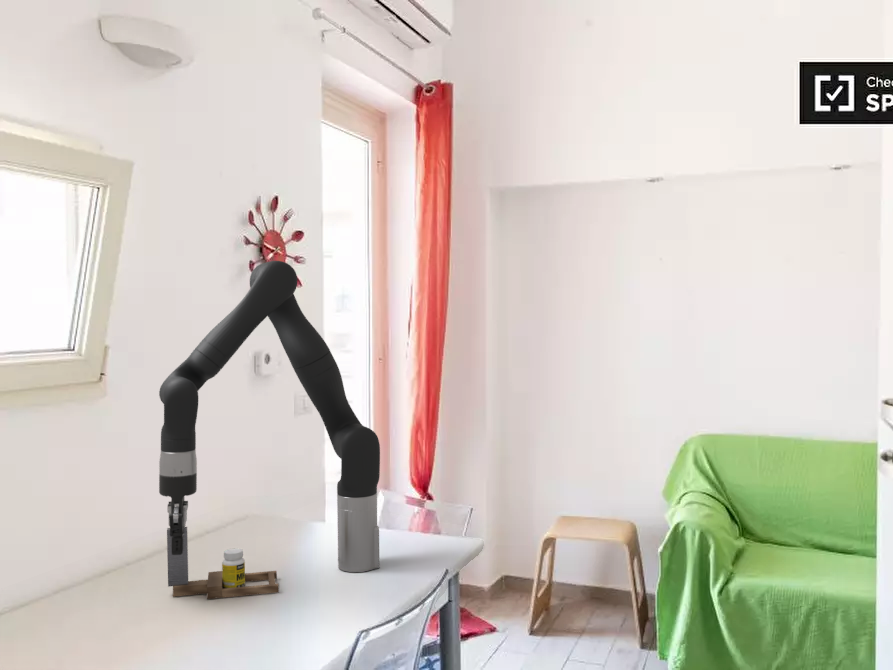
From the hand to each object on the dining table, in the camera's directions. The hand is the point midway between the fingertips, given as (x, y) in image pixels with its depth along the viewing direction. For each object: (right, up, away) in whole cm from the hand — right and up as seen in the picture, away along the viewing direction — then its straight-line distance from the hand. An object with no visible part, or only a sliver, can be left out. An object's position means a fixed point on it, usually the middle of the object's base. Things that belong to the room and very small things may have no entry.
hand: (177, 552), depth 172 cm
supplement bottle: (+11, -9, +3) cm, 15 cm away
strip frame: (+9, -9, +3) cm, 13 cm away
